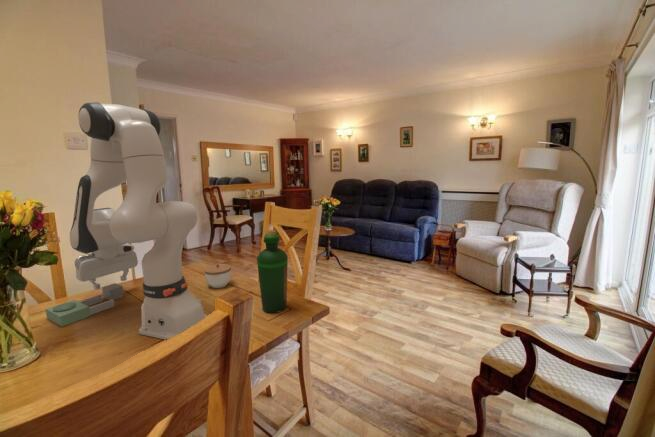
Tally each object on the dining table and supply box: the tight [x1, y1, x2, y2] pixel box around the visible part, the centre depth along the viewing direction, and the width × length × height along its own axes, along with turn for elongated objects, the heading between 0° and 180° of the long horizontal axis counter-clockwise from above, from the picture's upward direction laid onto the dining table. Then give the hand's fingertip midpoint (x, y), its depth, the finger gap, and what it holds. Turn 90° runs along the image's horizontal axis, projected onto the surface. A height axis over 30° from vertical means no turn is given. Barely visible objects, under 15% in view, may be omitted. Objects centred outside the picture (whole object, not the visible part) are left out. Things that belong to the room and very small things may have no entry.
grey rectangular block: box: [101, 282, 125, 301], centre depth 121 cm, size 6×4×4 cm
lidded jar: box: [203, 263, 232, 289], centre depth 131 cm, size 11×11×9 cm
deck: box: [45, 294, 116, 327], centre depth 109 cm, size 11×16×4 cm
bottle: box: [256, 229, 289, 314], centre depth 109 cm, size 11×11×28 cm
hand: (110, 284), depth 121 cm, fingers open, 8 cm apart
